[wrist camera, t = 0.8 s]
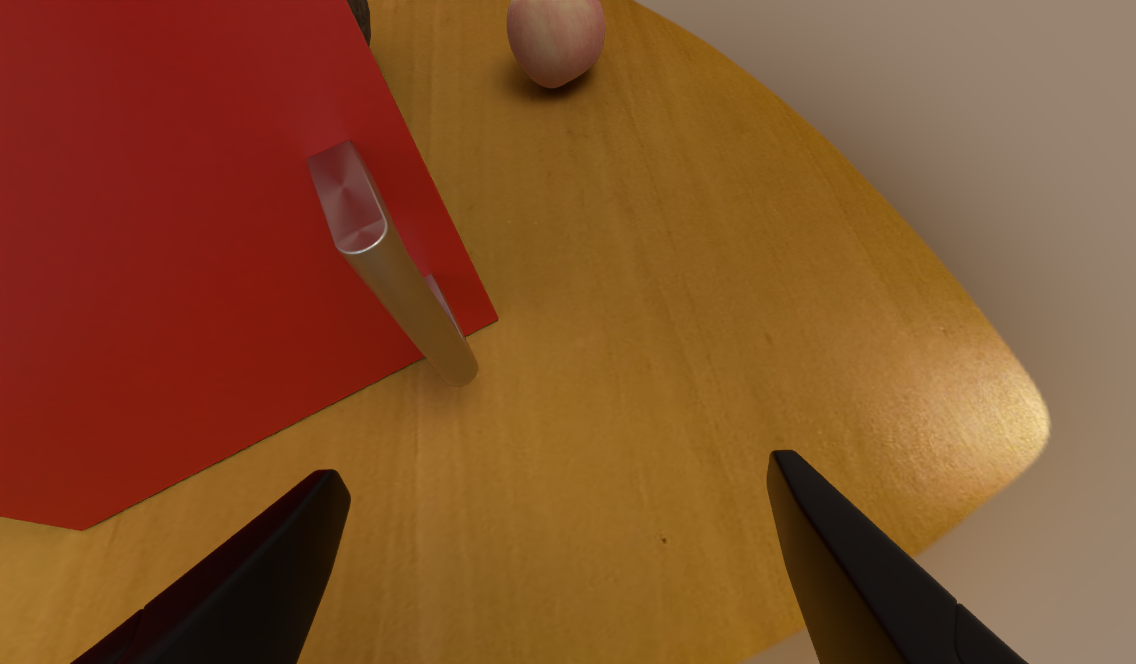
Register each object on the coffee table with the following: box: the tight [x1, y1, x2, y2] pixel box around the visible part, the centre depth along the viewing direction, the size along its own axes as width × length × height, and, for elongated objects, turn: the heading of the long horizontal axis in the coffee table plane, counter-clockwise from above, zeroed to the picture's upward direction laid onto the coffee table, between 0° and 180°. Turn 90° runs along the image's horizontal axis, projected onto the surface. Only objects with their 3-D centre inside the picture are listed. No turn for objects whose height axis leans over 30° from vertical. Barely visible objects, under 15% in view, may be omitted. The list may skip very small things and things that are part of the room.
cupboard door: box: [0, 0, 498, 531], centre depth 18 cm, size 7×26×24 cm, turn 117°
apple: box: [507, 0, 605, 88], centre depth 40 cm, size 8×8×8 cm
